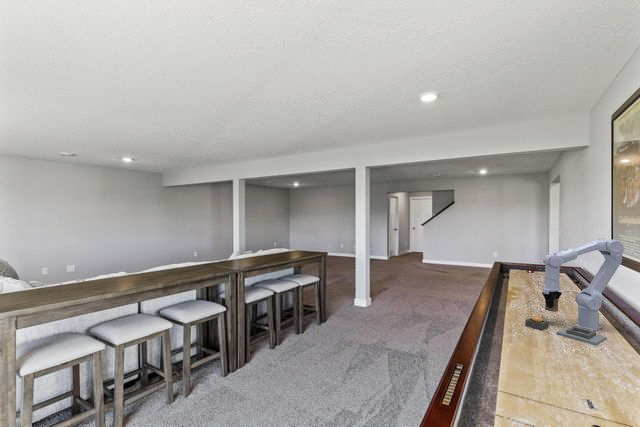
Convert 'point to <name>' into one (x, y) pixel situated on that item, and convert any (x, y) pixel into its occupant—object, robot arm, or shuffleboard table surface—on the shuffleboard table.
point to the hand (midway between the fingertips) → (551, 306)
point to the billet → (555, 306)
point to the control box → (536, 324)
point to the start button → (537, 319)
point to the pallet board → (582, 335)
